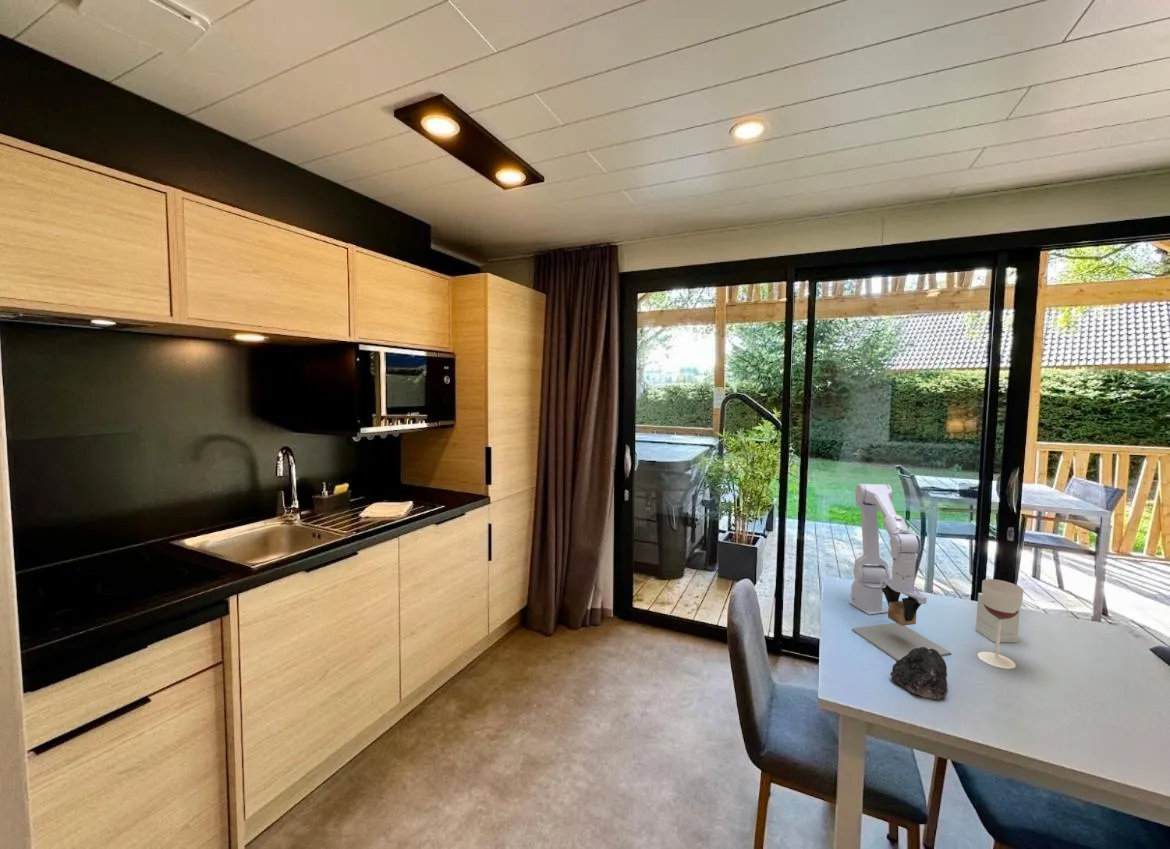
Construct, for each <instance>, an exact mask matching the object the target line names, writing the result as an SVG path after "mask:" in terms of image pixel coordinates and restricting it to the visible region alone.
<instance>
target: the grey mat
mask: <svg viewBox="0 0 1170 849" xmlns="http://www.w3.org/2000/svg"><path fill="white" fill-rule="evenodd" d="M851 631H852V632H853V633H855V634H856V635H857V636H860V638H863V639H864V640H865V641H867V642H868V643H870V644H871V645H873V646H874V647H876V648H877V649H879V650H880V651H882V652H883V653H884V654H886V655H888V656H889V657H890V658H892V659H893V660H894V661H895V662H896V661H897V660H900V659H902V658H903V657H904V656H906V655H908V654H909V652H910V651H911V650H913V649H914V648H920V647H926V648H927V649H934V650H937V651H938V653H939V654H940V655H941V657H945V656H952V652H951V651H950V650H948V649H946V648H944V647H942V646H940V645H939V644H937V643H935V642H933V641H932V640H930V639H928V638H927V637H925V636H924V635H922V634H920V633H919V632H916V631H915V630H913V629H912V628H909V627H908V626H907V625H905V626H901V625H899V624H898V623H896V622H891V623H884V624H877V625H868V626H862V627H854V628H851Z"/></svg>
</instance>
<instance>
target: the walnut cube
mask: <svg viewBox="0 0 1170 849" xmlns="http://www.w3.org/2000/svg"><path fill="white" fill-rule="evenodd" d="M887 610H888V612H887V618H888V619H889V620H890V621H892V622H893V623H898V624H899V625H901V626H912V625H916V623H917V612H918V610H917V611H916V613H915V615H914V617H913V620H912V621H905V617H904V604H903V601H902V600H898V601H895V602H889V607H888V609H887Z"/></svg>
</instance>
